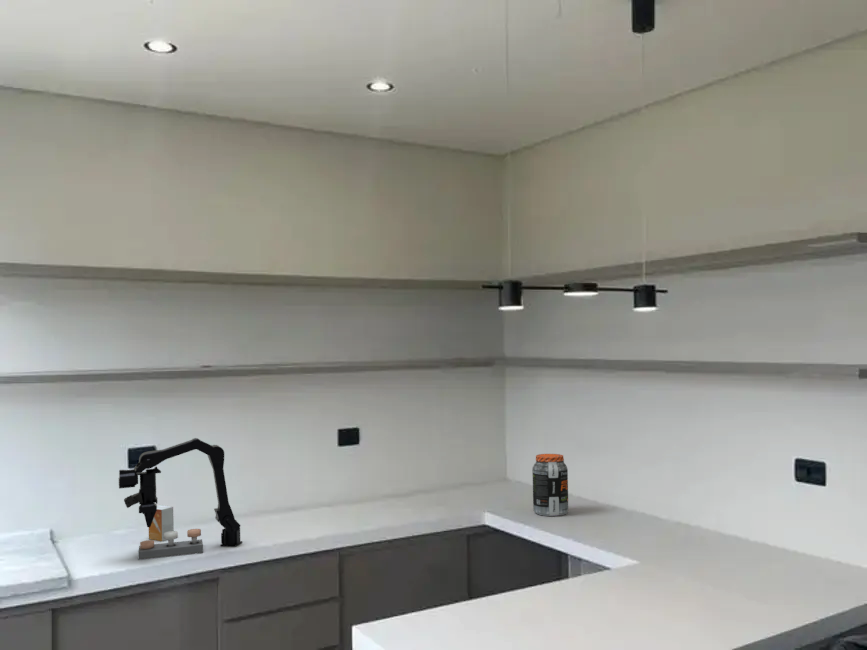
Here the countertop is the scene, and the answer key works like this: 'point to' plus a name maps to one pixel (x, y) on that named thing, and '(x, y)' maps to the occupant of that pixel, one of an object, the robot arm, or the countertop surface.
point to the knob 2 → (194, 534)
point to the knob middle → (170, 537)
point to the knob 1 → (147, 544)
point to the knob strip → (171, 550)
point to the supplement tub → (550, 485)
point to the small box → (161, 523)
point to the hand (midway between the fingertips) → (148, 526)
